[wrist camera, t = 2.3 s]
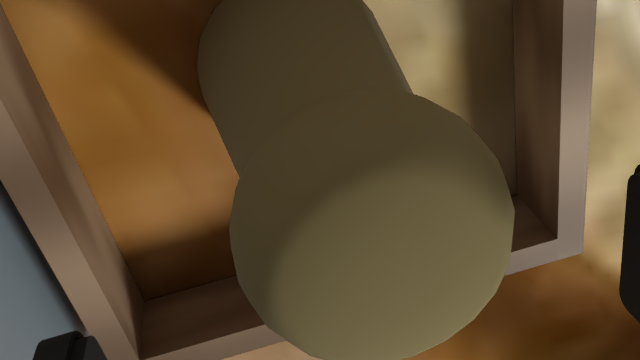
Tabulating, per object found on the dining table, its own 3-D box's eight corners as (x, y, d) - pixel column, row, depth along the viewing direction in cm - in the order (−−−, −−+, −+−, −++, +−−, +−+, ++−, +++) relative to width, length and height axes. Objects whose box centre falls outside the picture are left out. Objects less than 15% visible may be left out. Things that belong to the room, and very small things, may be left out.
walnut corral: (-136, -179, 14) (-209, -184, 11) (542, -330, 15) (616, -365, 12) (128, 327, 23) (121, 388, 20) (540, 208, 24) (582, 252, 21)
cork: (191, -35, 17) (201, 122, 7) (394, -30, 18) (622, 112, 9) (199, 154, 20) (213, 437, 10) (373, 148, 21) (526, 396, 12)
